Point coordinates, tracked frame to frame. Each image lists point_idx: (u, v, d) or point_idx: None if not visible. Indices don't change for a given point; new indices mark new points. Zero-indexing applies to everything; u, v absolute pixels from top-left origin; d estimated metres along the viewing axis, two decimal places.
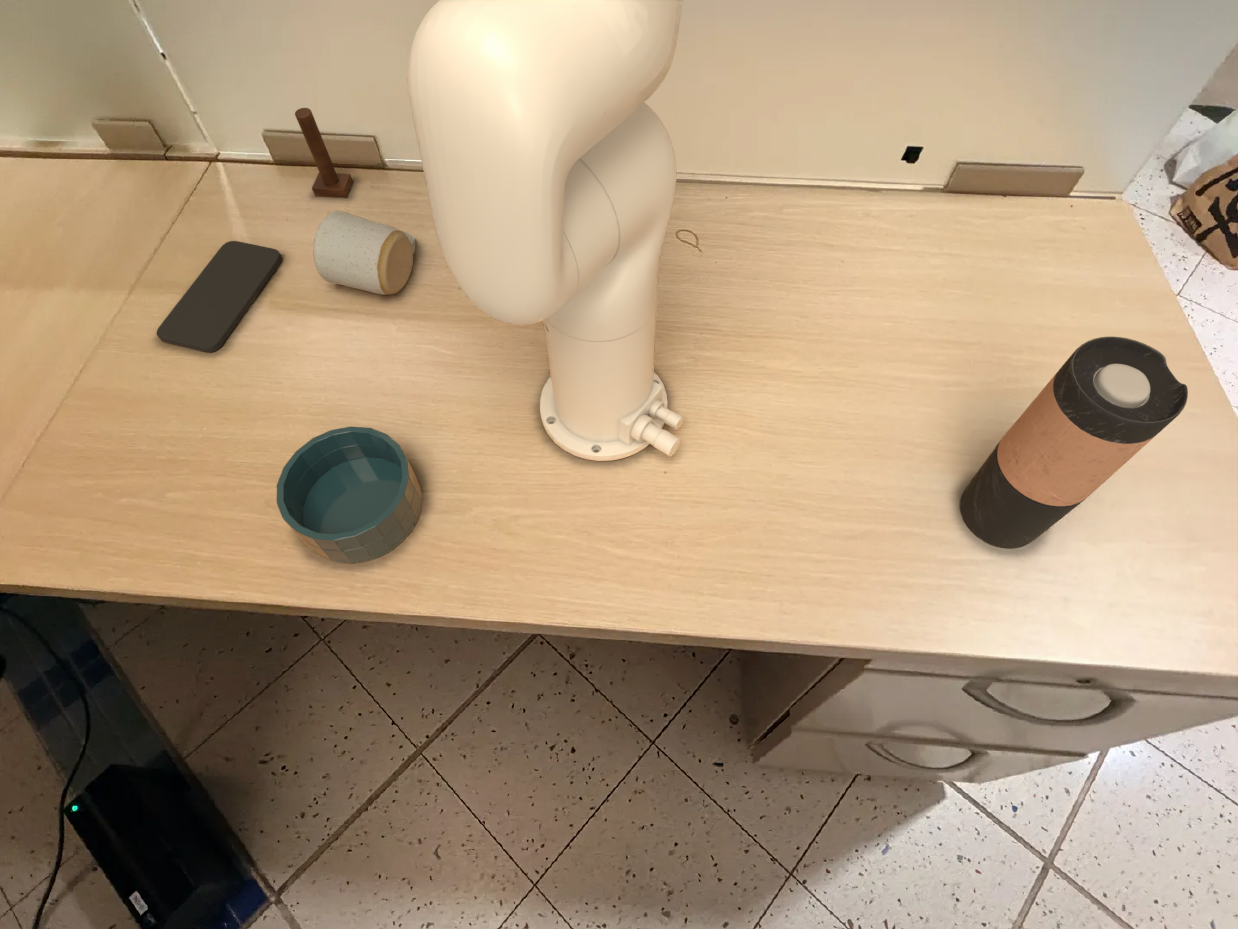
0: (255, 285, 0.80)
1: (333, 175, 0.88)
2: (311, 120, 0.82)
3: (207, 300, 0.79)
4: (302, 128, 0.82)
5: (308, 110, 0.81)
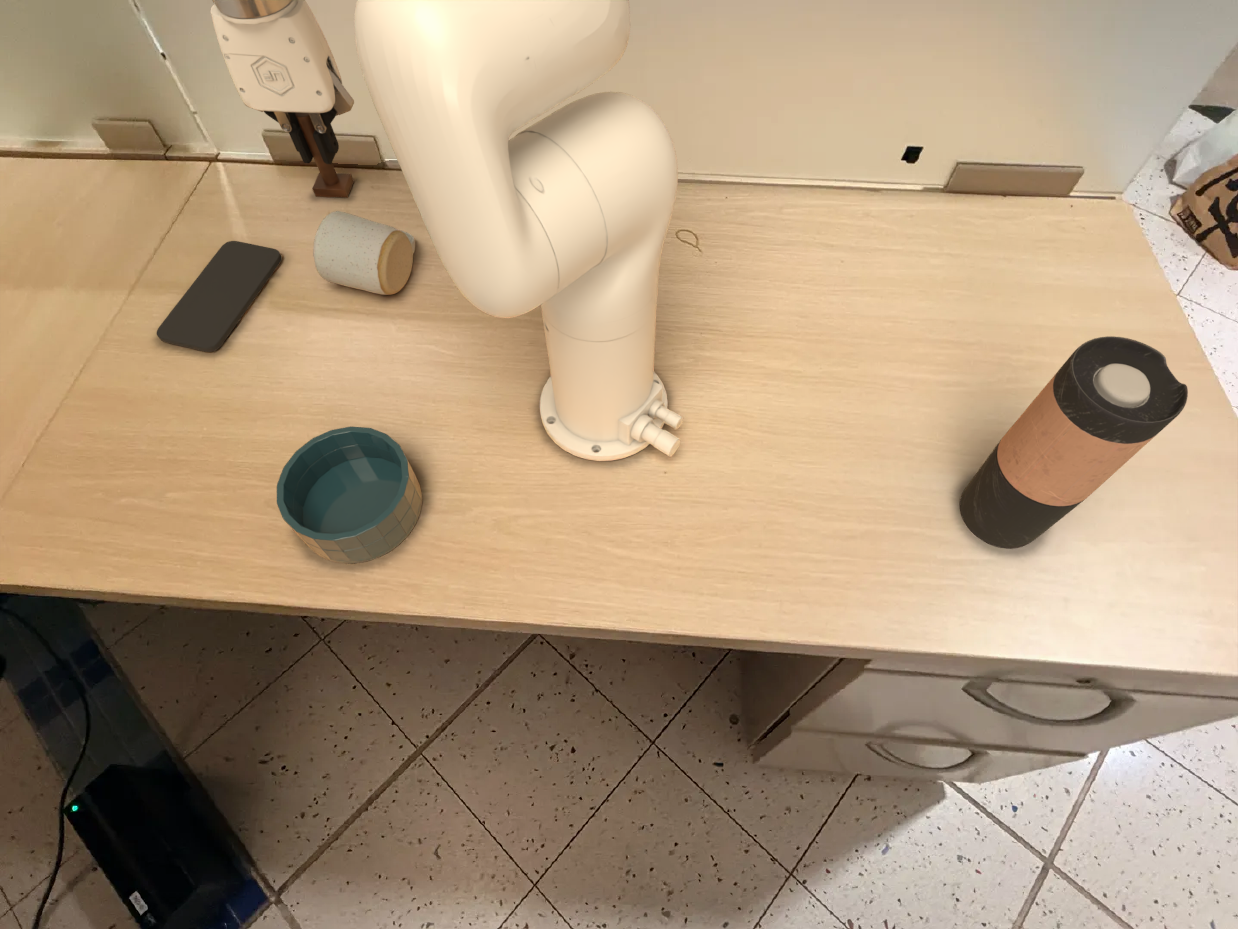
0: (255, 285, 0.80)
1: (333, 175, 0.88)
2: None
3: (207, 300, 0.79)
4: (302, 128, 0.82)
5: None
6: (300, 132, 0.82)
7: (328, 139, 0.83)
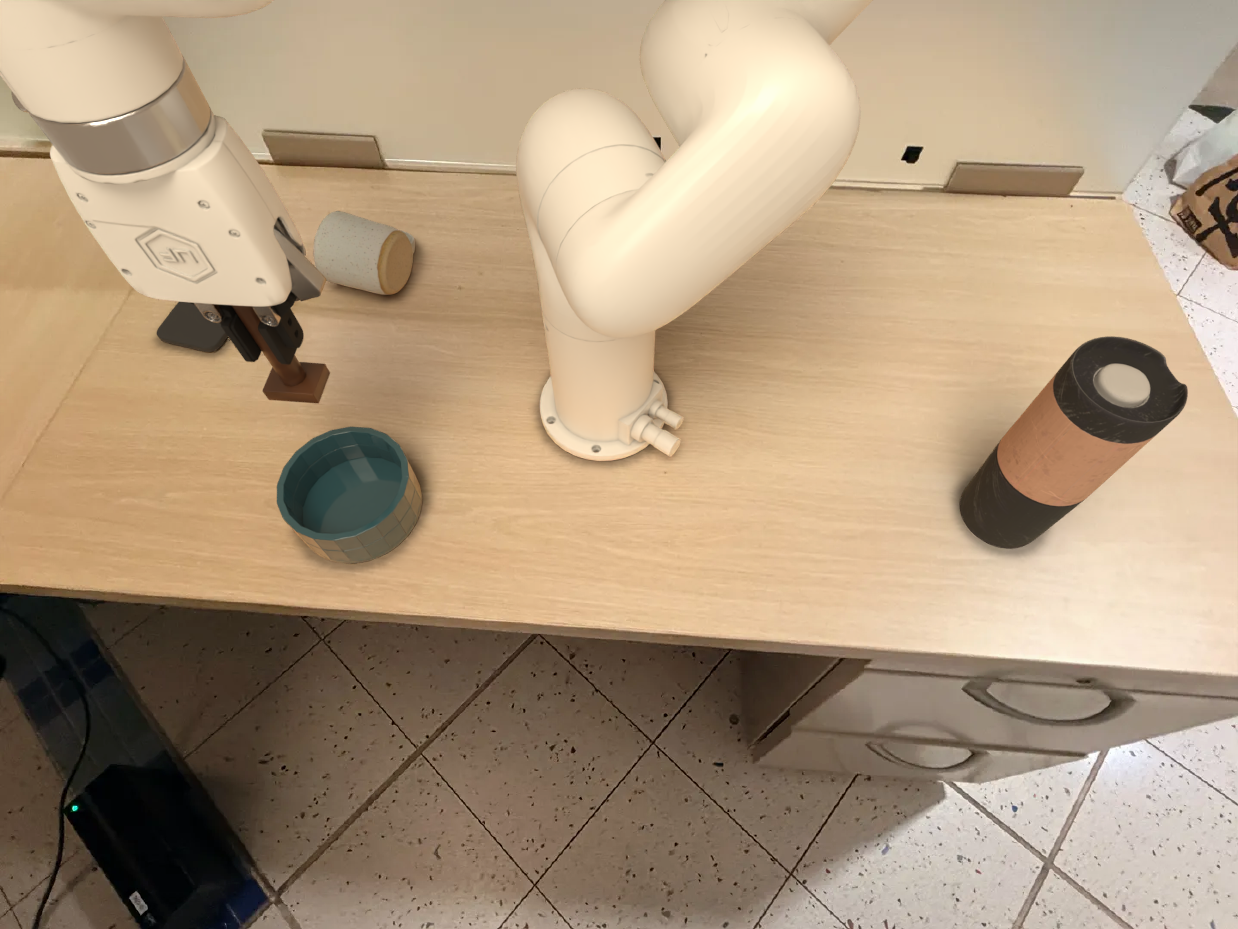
0: None
1: (296, 372, 0.54)
2: None
3: None
4: (240, 316, 0.49)
5: None
6: (237, 321, 0.49)
7: (284, 331, 0.50)
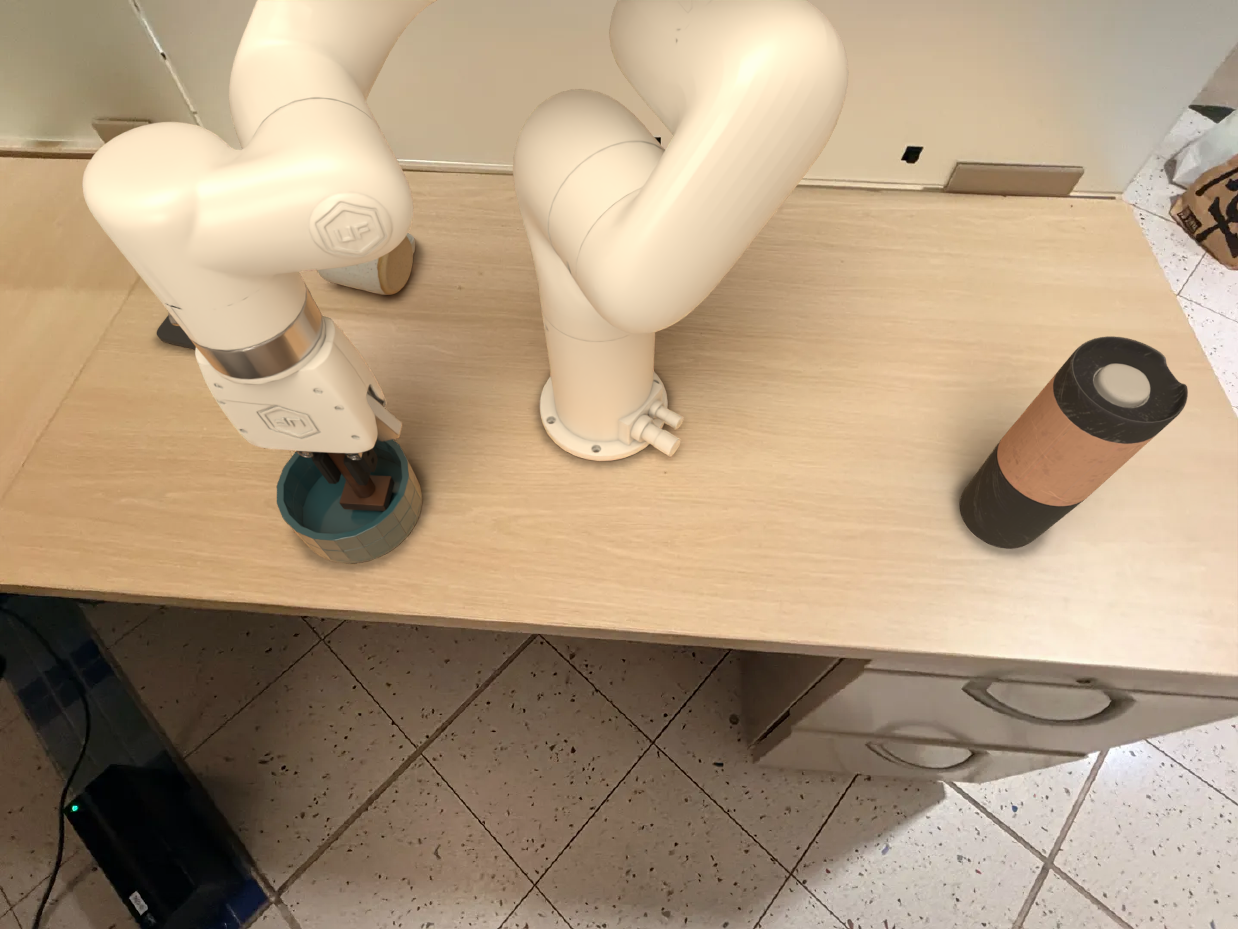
0: None
1: (368, 488, 0.64)
2: None
3: None
4: (328, 452, 0.58)
5: None
6: (325, 455, 0.59)
7: (364, 462, 0.59)
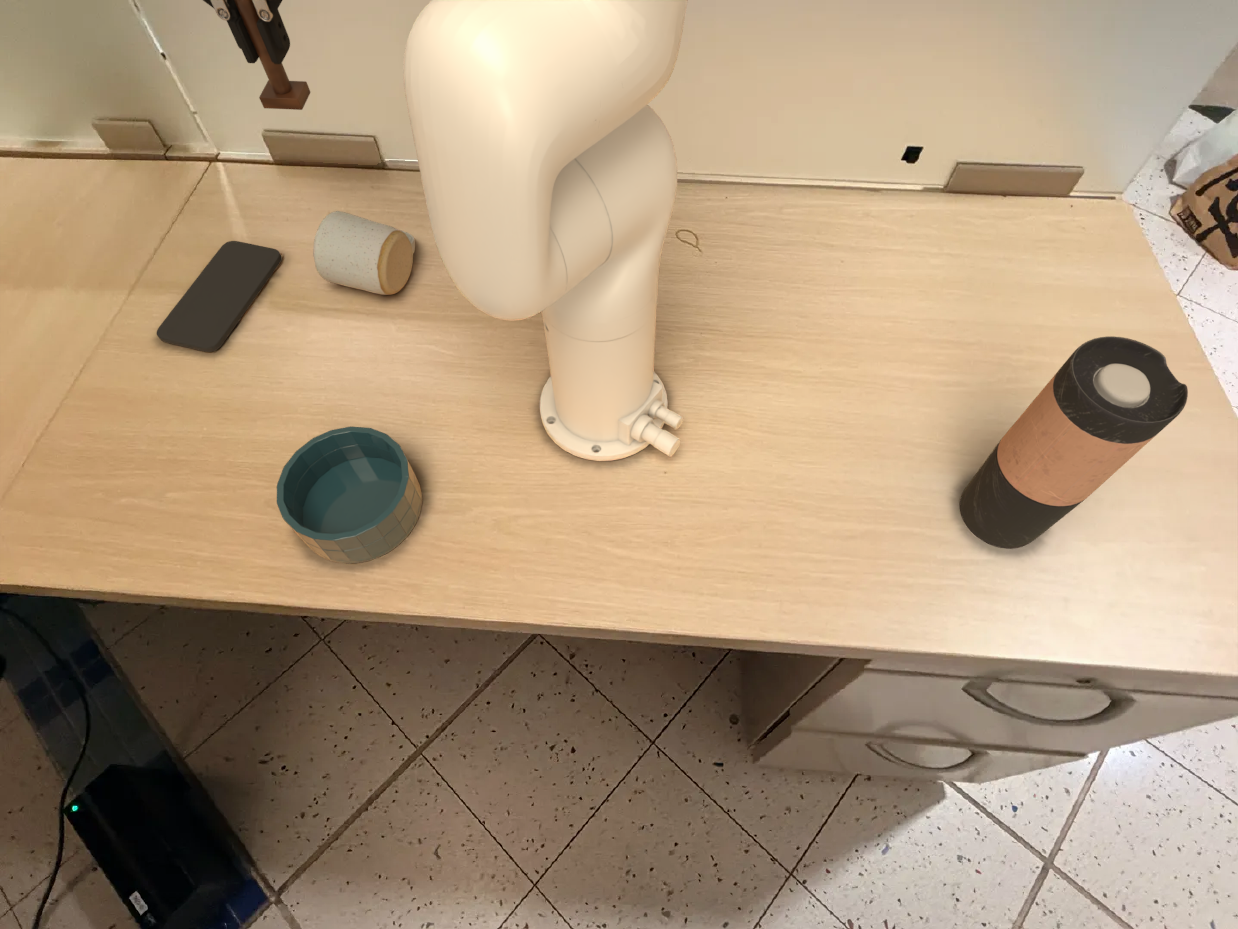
0: (255, 285, 0.80)
1: (284, 80, 0.73)
2: None
3: (207, 300, 0.79)
4: (243, 16, 0.67)
5: None
6: (241, 21, 0.68)
7: (276, 31, 0.68)
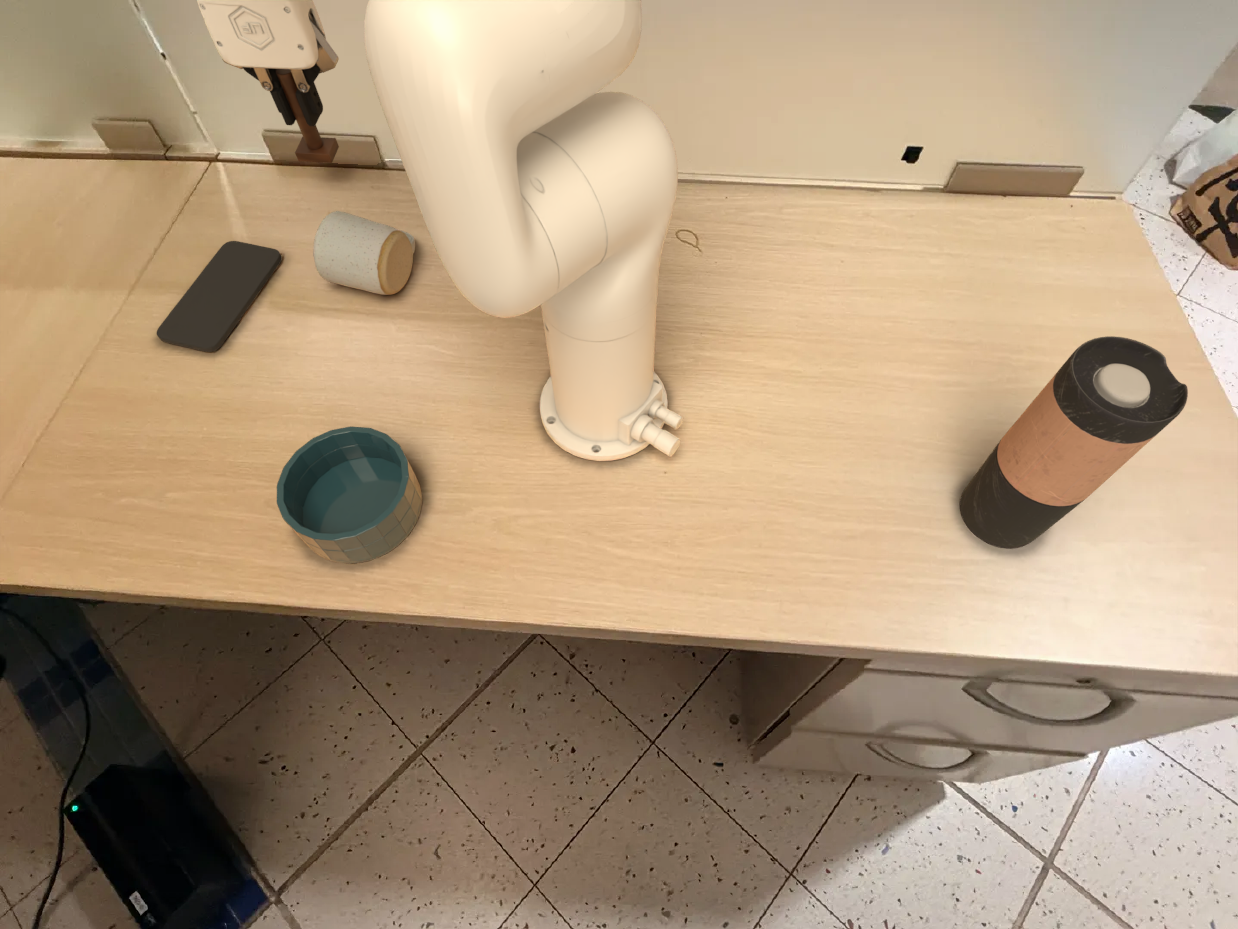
0: (255, 285, 0.80)
1: (317, 138, 0.84)
2: (293, 78, 0.77)
3: (207, 300, 0.79)
4: (283, 87, 0.78)
5: None
6: (282, 91, 0.79)
7: (311, 99, 0.79)
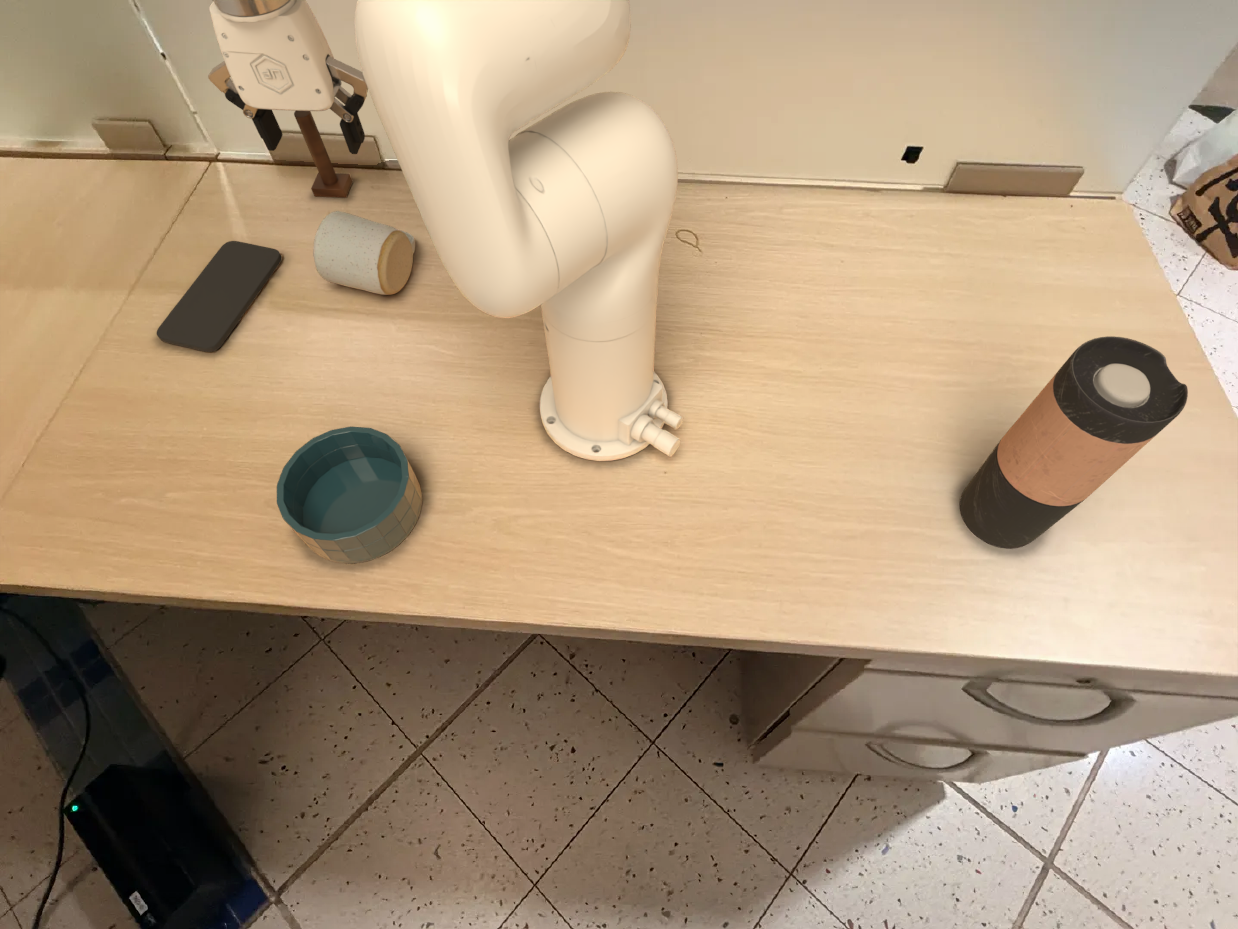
0: (255, 285, 0.80)
1: (332, 175, 0.88)
2: (310, 121, 0.82)
3: (207, 300, 0.79)
4: (301, 128, 0.82)
5: None
6: (263, 118, 0.81)
7: (355, 128, 0.82)
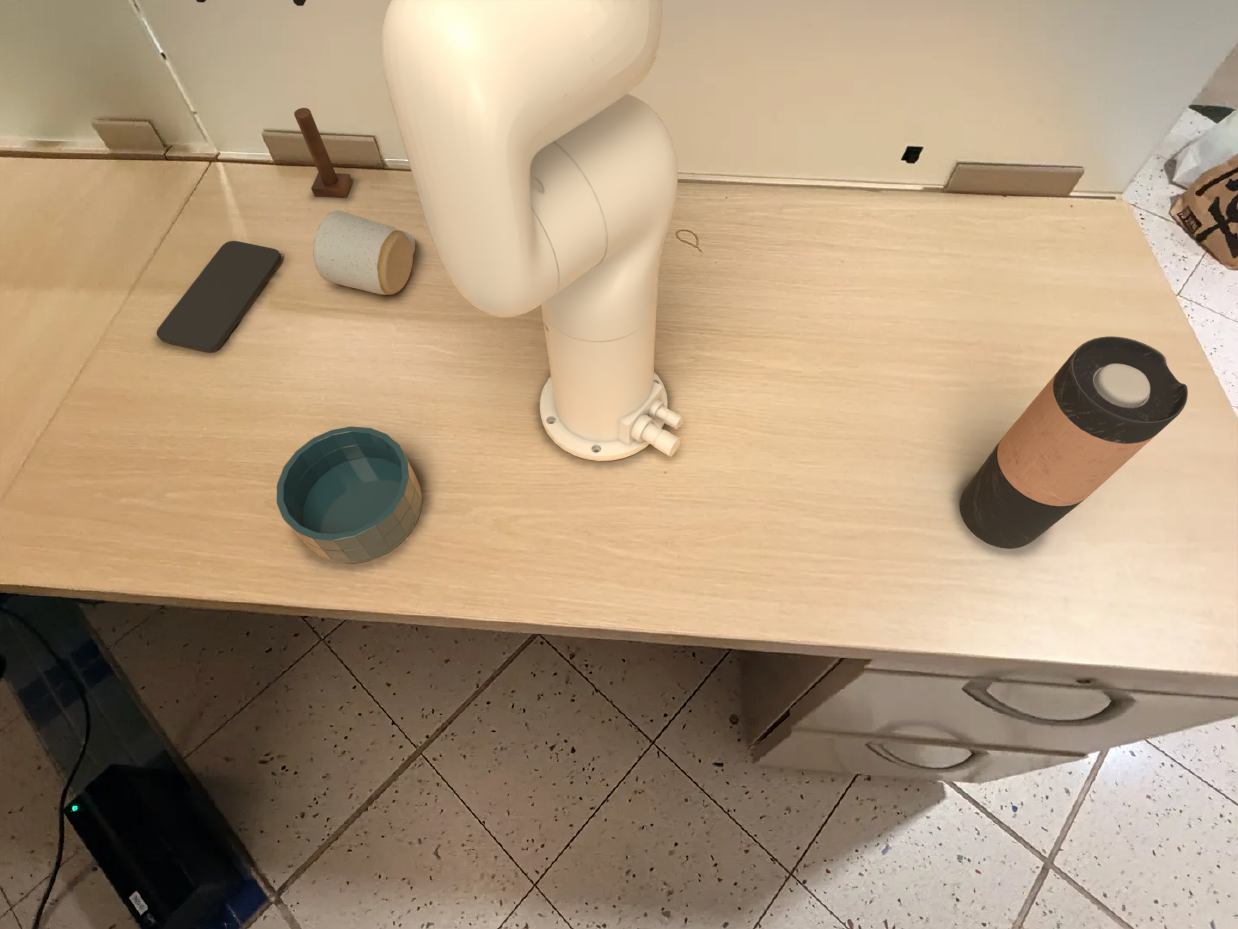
0: (255, 285, 0.80)
1: (332, 175, 0.88)
2: (310, 120, 0.82)
3: (207, 300, 0.79)
4: (301, 128, 0.82)
5: (307, 110, 0.81)
6: None
7: None
